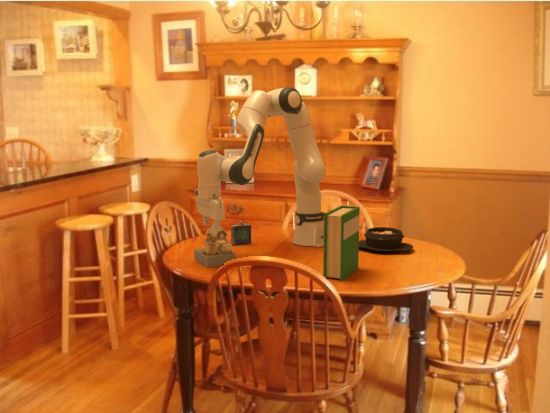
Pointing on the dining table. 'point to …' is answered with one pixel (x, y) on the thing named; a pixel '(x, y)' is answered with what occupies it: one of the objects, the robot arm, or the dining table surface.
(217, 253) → the grey recessed block
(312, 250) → the dining table surface
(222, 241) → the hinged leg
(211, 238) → the ceramic model
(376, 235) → the casserole
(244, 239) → the flask
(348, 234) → the hardback book
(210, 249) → the loose leg
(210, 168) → the robot arm
